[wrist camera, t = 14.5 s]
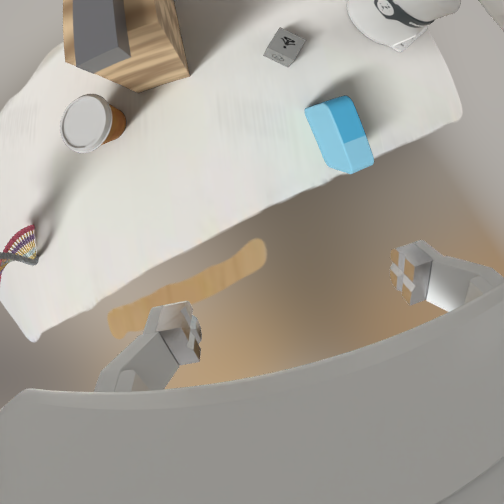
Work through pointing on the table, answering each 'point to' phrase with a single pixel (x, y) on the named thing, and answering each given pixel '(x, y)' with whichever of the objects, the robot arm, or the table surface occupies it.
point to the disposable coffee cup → (90, 123)
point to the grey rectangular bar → (99, 34)
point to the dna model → (4, 258)
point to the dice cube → (284, 47)
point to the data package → (340, 134)
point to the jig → (141, 45)
